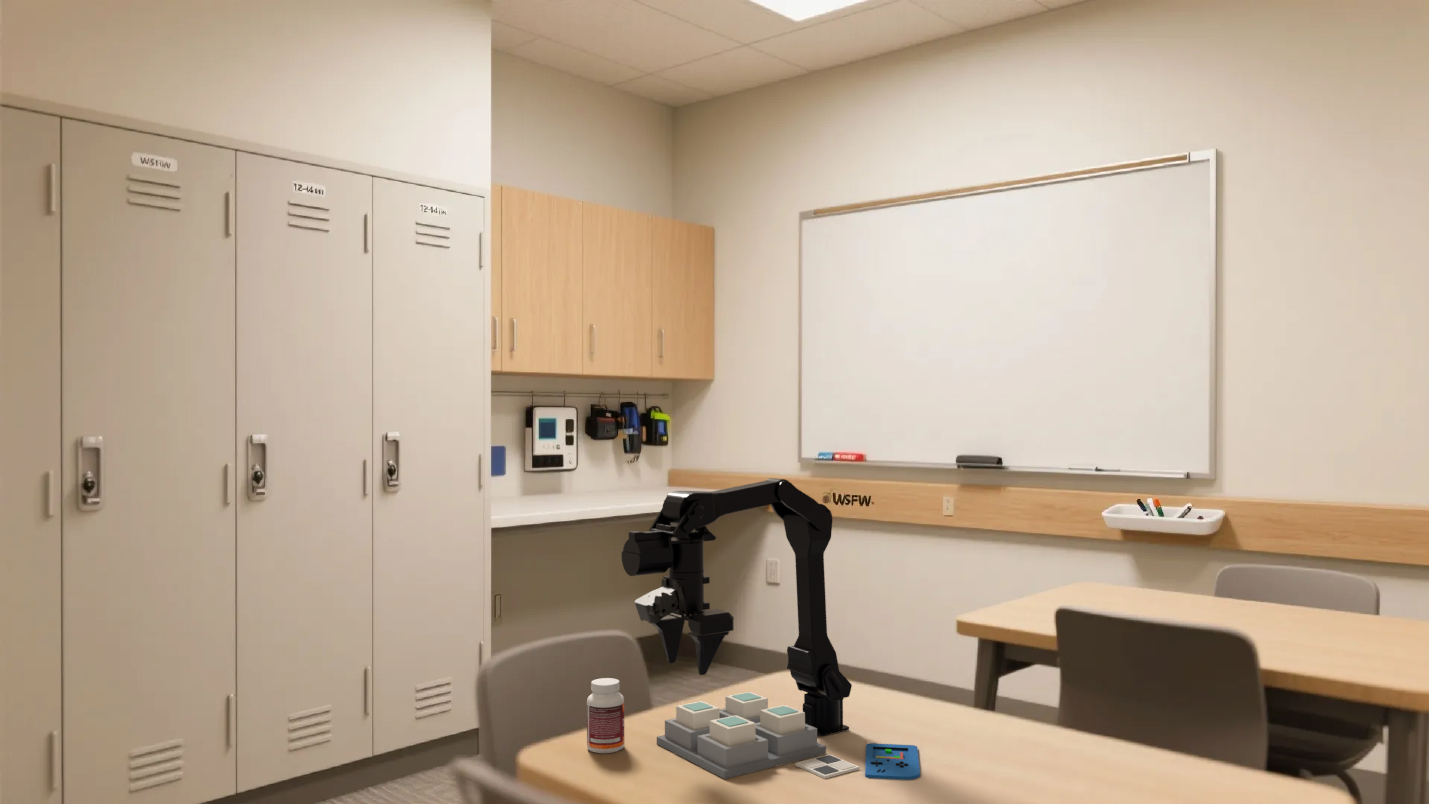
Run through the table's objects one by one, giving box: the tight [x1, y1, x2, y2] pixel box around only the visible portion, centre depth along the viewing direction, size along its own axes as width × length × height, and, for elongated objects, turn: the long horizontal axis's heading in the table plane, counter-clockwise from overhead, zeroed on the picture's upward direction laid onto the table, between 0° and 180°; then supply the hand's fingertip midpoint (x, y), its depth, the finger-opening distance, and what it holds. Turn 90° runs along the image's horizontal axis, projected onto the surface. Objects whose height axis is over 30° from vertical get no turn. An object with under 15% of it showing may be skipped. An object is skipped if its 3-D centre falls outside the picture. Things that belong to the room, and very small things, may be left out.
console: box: [656, 707, 827, 780], centre depth 166 cm, size 20×20×4 cm
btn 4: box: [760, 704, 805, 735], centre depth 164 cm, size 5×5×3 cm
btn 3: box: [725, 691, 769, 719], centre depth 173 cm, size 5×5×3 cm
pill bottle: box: [586, 677, 625, 754], centre depth 166 cm, size 6×6×11 cm
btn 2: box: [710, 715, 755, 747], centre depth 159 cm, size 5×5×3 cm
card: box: [795, 754, 860, 780], centre depth 157 cm, size 7×7×1 cm
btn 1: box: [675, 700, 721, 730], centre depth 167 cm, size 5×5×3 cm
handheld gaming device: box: [864, 742, 921, 781], centre depth 159 cm, size 8×1×15 cm
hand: (686, 668), depth 160 cm, fingers open, 9 cm apart
